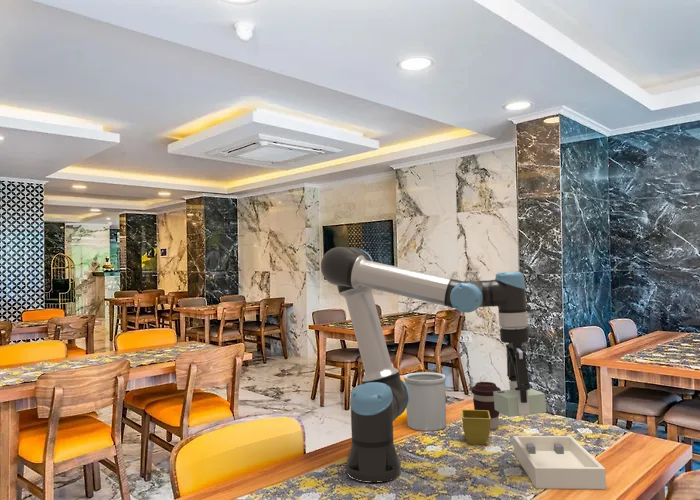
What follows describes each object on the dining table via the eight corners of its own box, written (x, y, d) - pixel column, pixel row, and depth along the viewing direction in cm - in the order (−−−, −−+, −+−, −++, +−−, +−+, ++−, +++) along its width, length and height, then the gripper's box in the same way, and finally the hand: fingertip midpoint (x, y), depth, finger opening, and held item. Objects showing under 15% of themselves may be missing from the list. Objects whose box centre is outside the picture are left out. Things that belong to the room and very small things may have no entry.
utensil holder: (401, 420, 183) (400, 372, 184) (440, 417, 185) (439, 370, 186) (410, 433, 169) (409, 381, 169) (453, 430, 170) (451, 379, 171)
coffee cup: (505, 431, 168) (504, 386, 168) (476, 432, 168) (474, 387, 168) (497, 422, 178) (495, 380, 178) (469, 422, 178) (468, 380, 178)
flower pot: (491, 447, 153) (490, 418, 154) (463, 446, 155) (462, 417, 155) (489, 438, 162) (488, 410, 162) (462, 436, 164) (461, 409, 164)
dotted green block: (508, 417, 131) (507, 397, 131) (494, 409, 139) (493, 390, 139) (546, 412, 133) (544, 392, 133) (530, 405, 141) (528, 386, 141)
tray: (536, 488, 125) (535, 468, 125) (513, 452, 149) (513, 435, 149) (606, 489, 123) (605, 468, 123) (572, 453, 147) (571, 436, 147)
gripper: (537, 331, 126) (544, 420, 125) (519, 322, 148) (524, 398, 147) (507, 333, 127) (514, 421, 126) (493, 323, 149) (498, 399, 147)
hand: (519, 409), depth 136 cm, fingers closed on dotted green block, 9 cm apart
